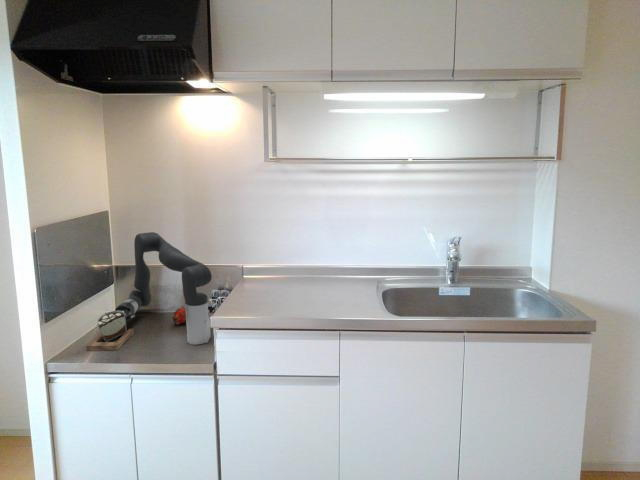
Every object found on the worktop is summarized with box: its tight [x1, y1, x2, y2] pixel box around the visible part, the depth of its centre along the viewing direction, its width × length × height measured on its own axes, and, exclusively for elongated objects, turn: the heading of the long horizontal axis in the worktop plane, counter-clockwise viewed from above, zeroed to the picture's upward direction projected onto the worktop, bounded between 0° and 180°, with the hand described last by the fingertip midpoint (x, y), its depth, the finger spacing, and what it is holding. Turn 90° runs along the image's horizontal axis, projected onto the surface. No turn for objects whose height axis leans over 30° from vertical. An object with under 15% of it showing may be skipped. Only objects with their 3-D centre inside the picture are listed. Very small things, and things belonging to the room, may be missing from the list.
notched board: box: [85, 328, 135, 352], centre depth 189 cm, size 12×18×2 cm
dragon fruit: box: [172, 306, 186, 326], centre depth 209 cm, size 8×8×12 cm
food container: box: [96, 310, 128, 342], centre depth 190 cm, size 12×6×10 cm, turn 137°
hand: (110, 323), depth 189 cm, fingers open, 2 cm apart
